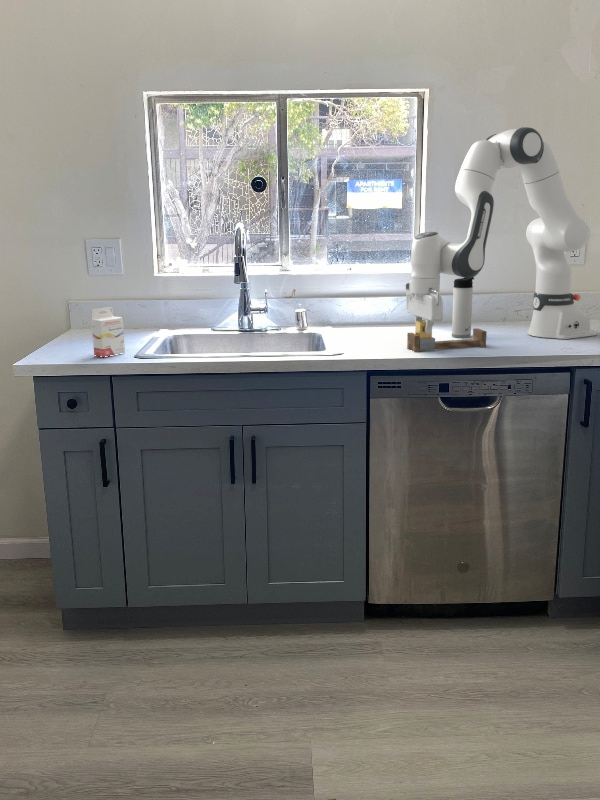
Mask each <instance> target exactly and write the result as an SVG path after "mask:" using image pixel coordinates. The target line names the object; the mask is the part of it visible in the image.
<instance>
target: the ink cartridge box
mask: <svg viewBox="0 0 600 800" xmlns="http://www.w3.org/2000/svg"><path fill="white" fill-rule="evenodd" d="M101 312H105V313H101ZM90 314H91V321H90V322H91V332H92V334H91V335H92V345H93V356H94V355H96V356H102V357H105V356H110V355H115V354H120V353H125V354H126V352H125V351H126V348H125V331H124V322H123V321H124V318H123V317H122V316H114V307H113V306H110V307H107V306H106V307H101V308H100V307H99V308H94V309H93V308H92V309H91V313H90ZM96 356H95V357H96Z"/></svg>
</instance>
